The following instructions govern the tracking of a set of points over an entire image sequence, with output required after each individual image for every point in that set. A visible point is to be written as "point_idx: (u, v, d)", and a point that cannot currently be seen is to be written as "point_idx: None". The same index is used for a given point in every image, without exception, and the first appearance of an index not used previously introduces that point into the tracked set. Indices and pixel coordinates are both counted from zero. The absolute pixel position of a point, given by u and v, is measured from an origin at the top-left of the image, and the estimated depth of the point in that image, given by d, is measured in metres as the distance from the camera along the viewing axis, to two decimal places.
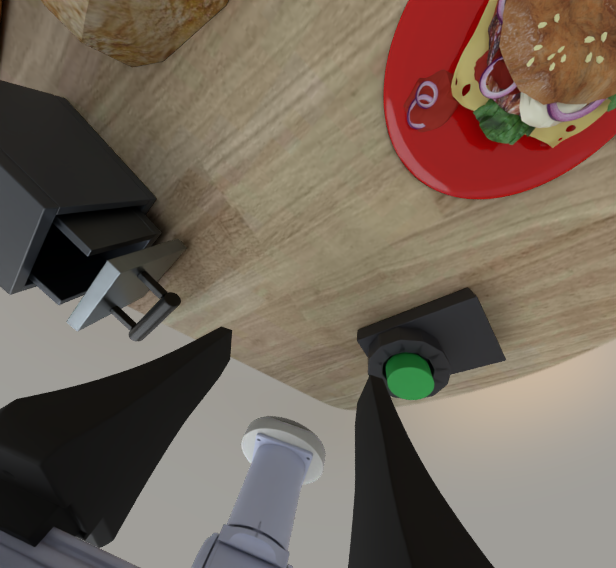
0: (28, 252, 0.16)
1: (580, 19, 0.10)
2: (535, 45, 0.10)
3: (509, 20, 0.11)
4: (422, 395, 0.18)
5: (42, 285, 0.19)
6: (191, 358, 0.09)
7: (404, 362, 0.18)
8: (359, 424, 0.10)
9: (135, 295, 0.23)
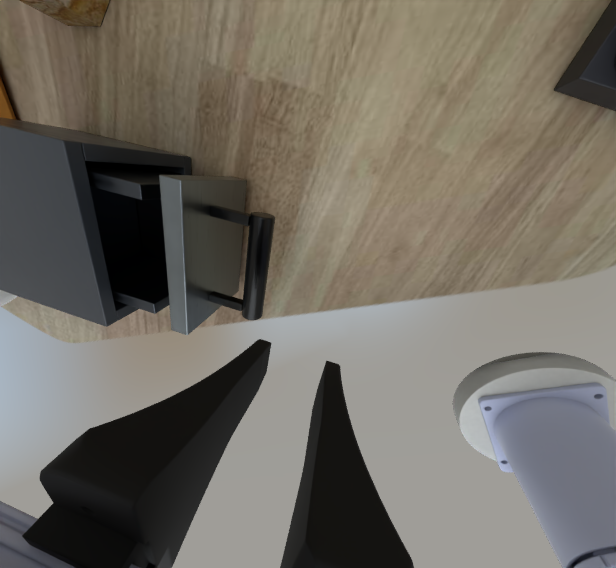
0: (88, 240, 0.13)
1: None
2: None
3: None
4: None
5: (129, 298, 0.15)
6: (241, 375, 0.09)
7: None
8: (314, 408, 0.11)
9: (227, 278, 0.18)
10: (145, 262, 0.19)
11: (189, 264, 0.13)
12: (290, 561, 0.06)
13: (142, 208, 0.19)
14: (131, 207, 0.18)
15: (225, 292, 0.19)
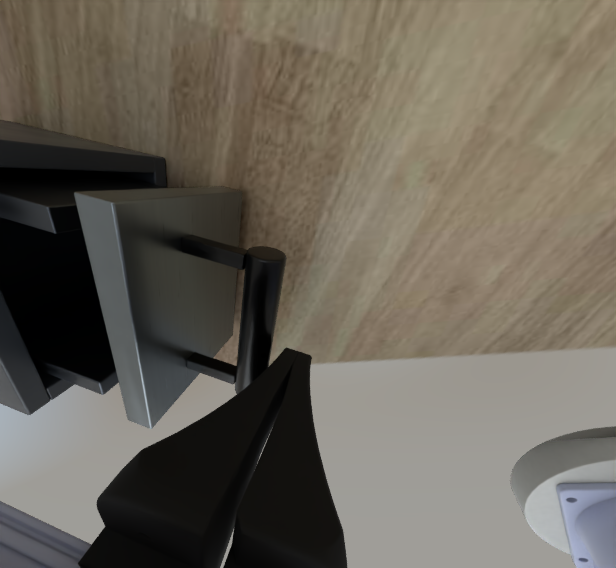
0: None
1: None
2: None
3: None
4: None
5: (64, 372, 0.10)
6: (276, 388, 0.09)
7: None
8: None
9: (215, 327, 0.13)
10: None
11: (146, 334, 0.08)
12: None
13: None
14: None
15: (213, 345, 0.13)
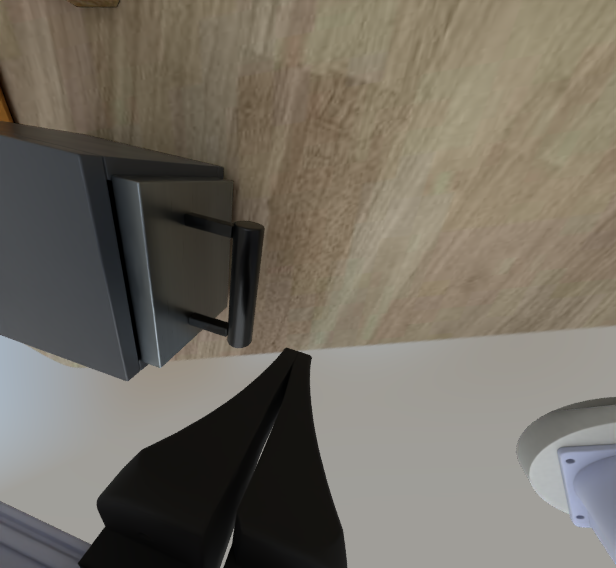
0: (108, 282, 0.10)
1: None
2: None
3: None
4: None
5: None
6: (276, 388, 0.09)
7: None
8: None
9: (212, 295, 0.16)
10: None
11: (158, 286, 0.11)
12: None
13: (113, 213, 0.16)
14: None
15: (210, 311, 0.16)
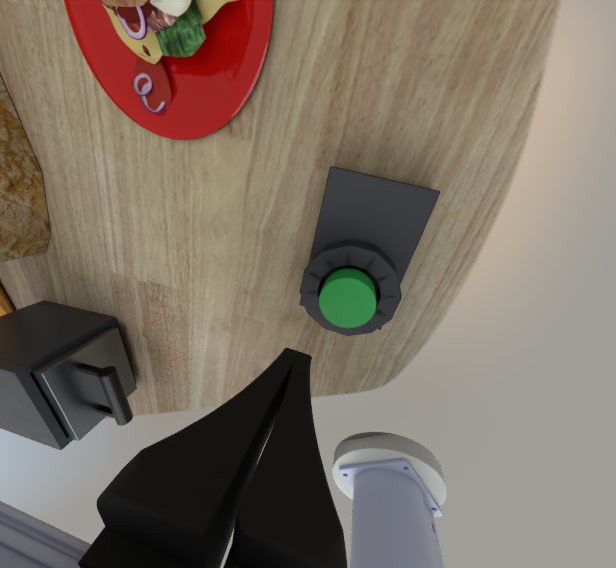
0: (38, 410, 0.21)
1: None
2: None
3: None
4: (371, 305, 0.13)
5: None
6: (276, 388, 0.09)
7: None
8: None
9: None
10: None
11: (66, 405, 0.22)
12: None
13: None
14: None
15: None
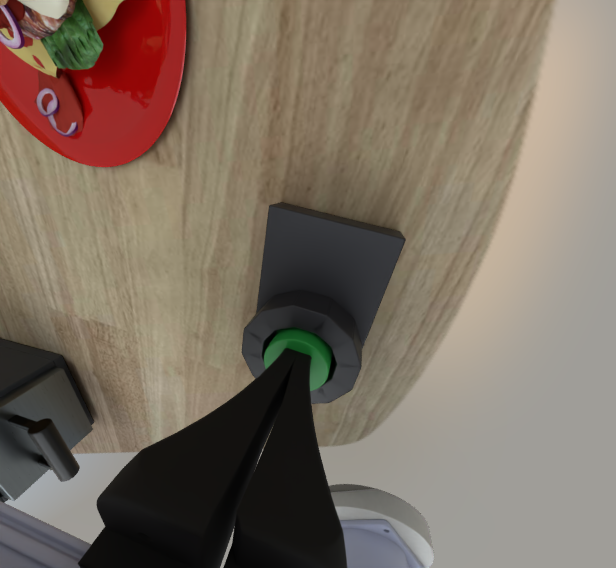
0: None
1: None
2: None
3: None
4: (322, 370, 0.11)
5: None
6: (276, 388, 0.09)
7: None
8: None
9: (65, 435, 0.24)
10: None
11: None
12: None
13: None
14: None
15: (67, 444, 0.24)
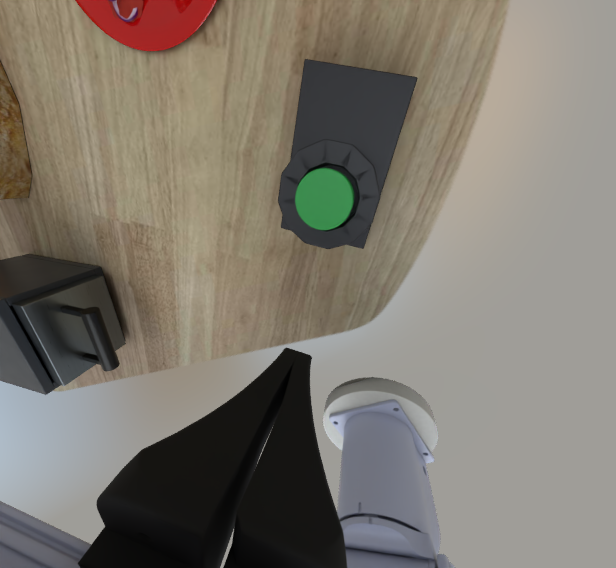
0: (20, 348, 0.21)
1: None
2: None
3: None
4: (347, 199, 0.13)
5: None
6: (276, 388, 0.09)
7: None
8: None
9: None
10: None
11: (49, 345, 0.22)
12: None
13: None
14: None
15: None
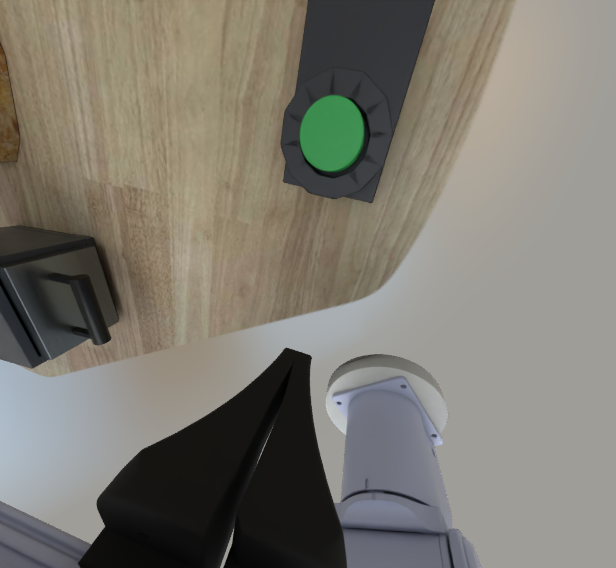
0: (3, 315, 0.19)
1: None
2: None
3: None
4: (358, 132, 0.12)
5: None
6: (276, 388, 0.09)
7: None
8: None
9: None
10: None
11: (35, 314, 0.20)
12: None
13: None
14: None
15: None
